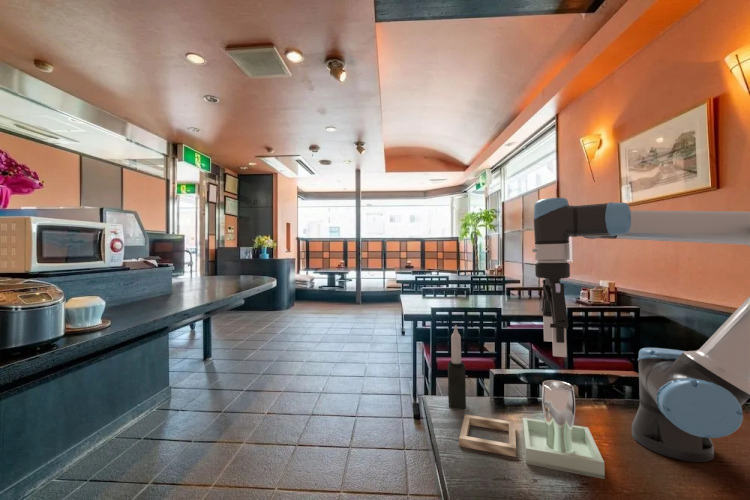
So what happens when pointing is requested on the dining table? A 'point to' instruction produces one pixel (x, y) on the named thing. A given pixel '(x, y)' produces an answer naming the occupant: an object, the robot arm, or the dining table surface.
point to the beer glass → (558, 415)
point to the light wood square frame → (488, 444)
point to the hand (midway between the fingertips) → (554, 348)
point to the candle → (456, 374)
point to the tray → (579, 462)
